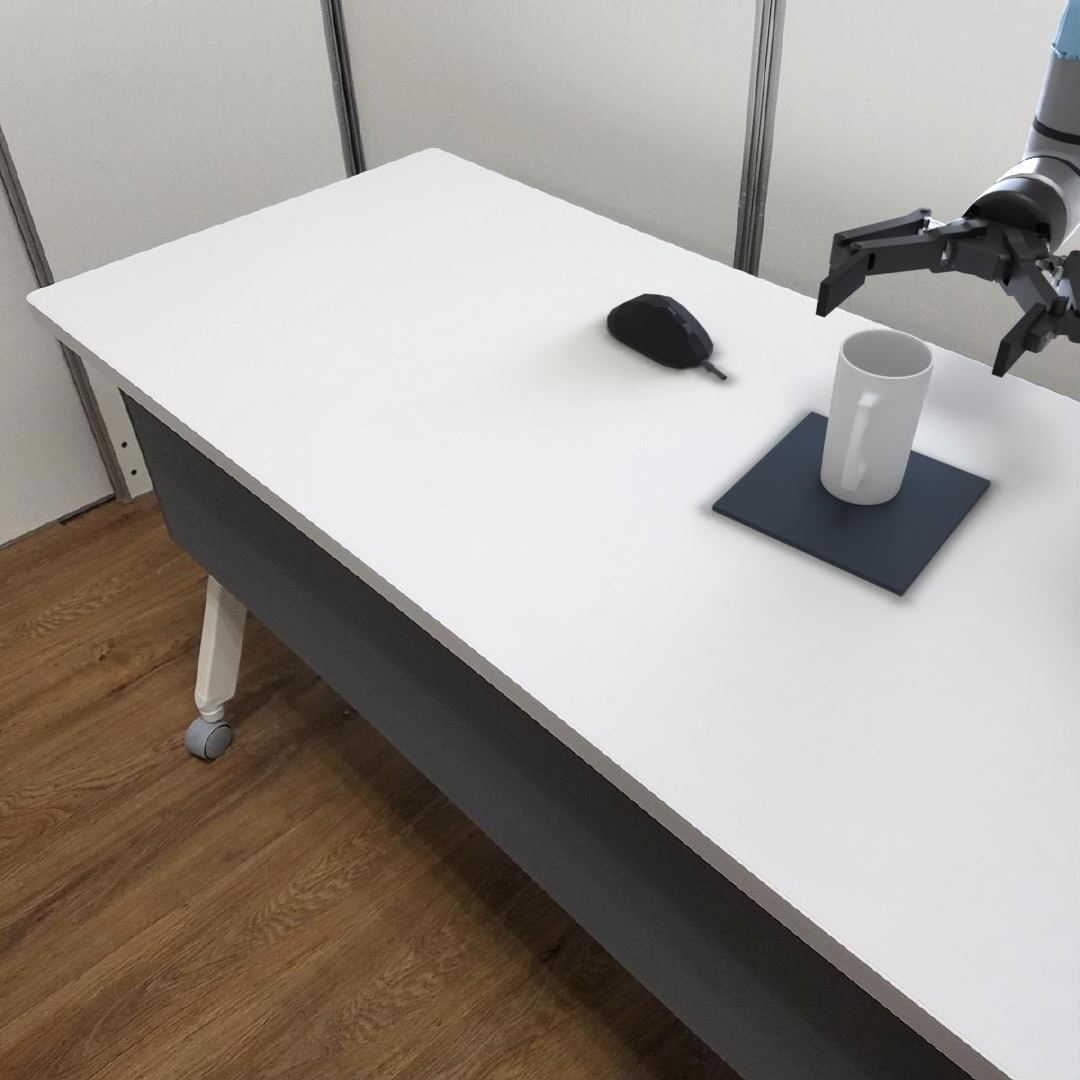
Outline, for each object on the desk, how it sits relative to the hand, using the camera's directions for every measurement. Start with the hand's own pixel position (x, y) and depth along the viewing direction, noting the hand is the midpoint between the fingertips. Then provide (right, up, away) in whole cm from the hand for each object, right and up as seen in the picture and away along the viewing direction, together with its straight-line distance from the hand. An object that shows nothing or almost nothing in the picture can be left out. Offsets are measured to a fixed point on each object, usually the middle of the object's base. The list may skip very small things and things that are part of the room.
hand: (907, 328), depth 81 cm
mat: (-2, -12, +9) cm, 15 cm away
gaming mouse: (-14, +3, +27) cm, 30 cm away
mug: (-1, -11, +9) cm, 15 cm away
